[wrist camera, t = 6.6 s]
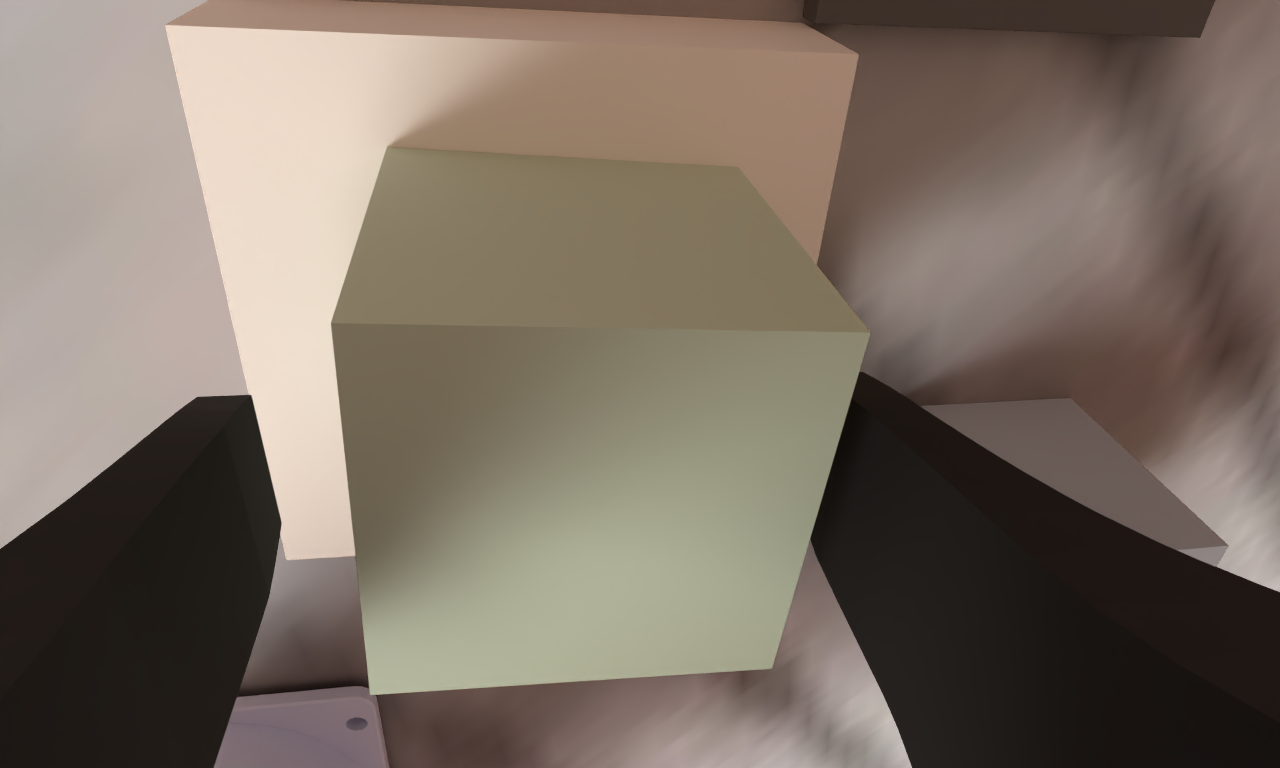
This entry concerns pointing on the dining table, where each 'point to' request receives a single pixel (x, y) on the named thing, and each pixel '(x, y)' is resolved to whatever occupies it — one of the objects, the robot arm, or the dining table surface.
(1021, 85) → the dining table surface
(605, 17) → the base block
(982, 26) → the tile
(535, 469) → the sage block
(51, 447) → the dining table surface
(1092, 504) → the grey block
